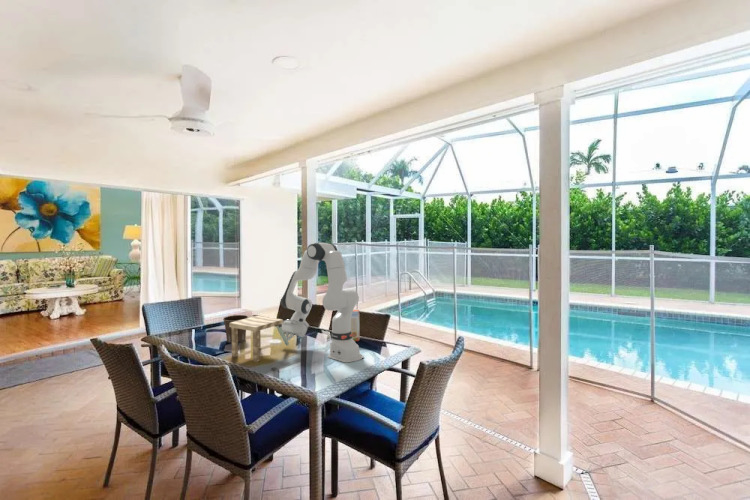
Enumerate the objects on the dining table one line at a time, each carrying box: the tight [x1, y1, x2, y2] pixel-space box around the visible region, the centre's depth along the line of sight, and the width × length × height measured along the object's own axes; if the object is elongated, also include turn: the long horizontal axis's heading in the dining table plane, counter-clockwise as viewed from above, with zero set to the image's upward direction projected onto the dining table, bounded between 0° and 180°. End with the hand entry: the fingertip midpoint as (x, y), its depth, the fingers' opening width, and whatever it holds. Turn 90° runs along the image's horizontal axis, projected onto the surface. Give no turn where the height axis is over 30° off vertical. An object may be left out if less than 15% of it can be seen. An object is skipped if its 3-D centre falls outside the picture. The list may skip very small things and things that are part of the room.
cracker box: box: [350, 309, 361, 342], centre depth 260 cm, size 14×6×21 cm, turn 84°
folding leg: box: [275, 325, 290, 346], centre depth 236 cm, size 2×2×17 cm
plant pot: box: [222, 314, 249, 344], centre depth 260 cm, size 16×16×16 cm
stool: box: [229, 315, 284, 363], centre depth 230 cm, size 22×22×20 cm
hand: (286, 339), depth 240 cm, fingers closed, pressing on folding leg
